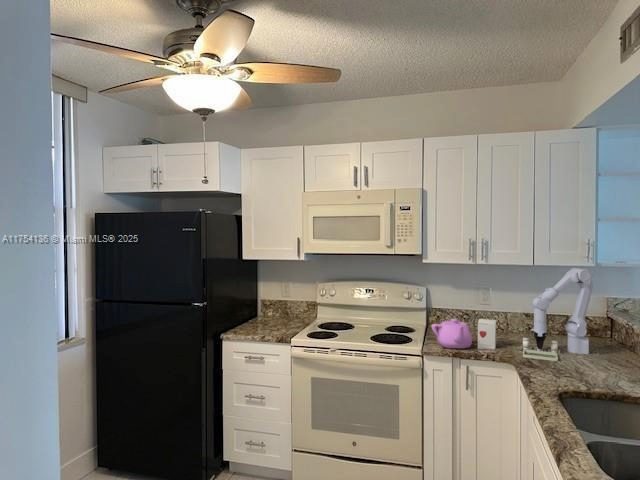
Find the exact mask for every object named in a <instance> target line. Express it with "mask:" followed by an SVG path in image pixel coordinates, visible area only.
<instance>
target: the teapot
mask: <svg viewBox="0 0 640 480" xmlns="http://www.w3.org/2000/svg"><path fill="white" fill-rule="evenodd" d="M437 328H438V331H437ZM431 330H432V332H433V333H434V335H436V339H437V342H438V344H439V345H440V346H441V347H444V348H447V349H449V350H452V349H462V350H465V349H467V348H470V347H471V346H472V343H473V338H472V333H471V330H470V328H469V326H468V324H467V323H465V322H463V321H458V319H457V318H451V319H450V320H445V321H441V322H440V324H439V323H433V324H431Z"/></svg>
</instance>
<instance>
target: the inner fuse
mask: <svg viewBox="0 0 640 480" xmlns="http://www.w3.org/2000/svg"><path fill="white" fill-rule="evenodd" d="M558 344H559V343H558V341H557V340H552V339H551V340H550V351H551V352H554V353H557V352H558Z"/></svg>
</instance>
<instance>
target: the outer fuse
mask: <svg viewBox="0 0 640 480" xmlns="http://www.w3.org/2000/svg"><path fill="white" fill-rule="evenodd" d="M522 348H523V349H527V350H529V349H530V338H529V337H523V338H522Z"/></svg>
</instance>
